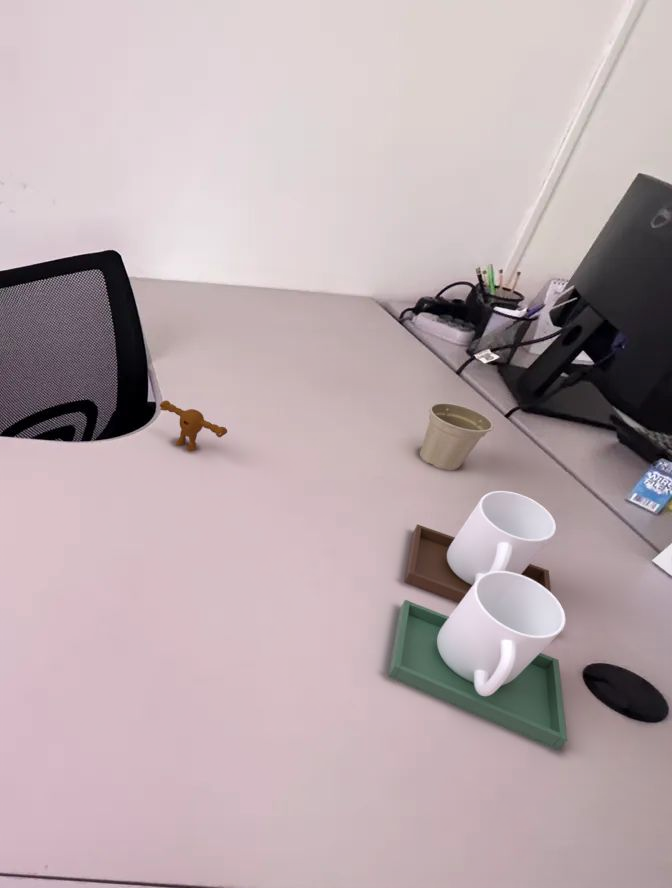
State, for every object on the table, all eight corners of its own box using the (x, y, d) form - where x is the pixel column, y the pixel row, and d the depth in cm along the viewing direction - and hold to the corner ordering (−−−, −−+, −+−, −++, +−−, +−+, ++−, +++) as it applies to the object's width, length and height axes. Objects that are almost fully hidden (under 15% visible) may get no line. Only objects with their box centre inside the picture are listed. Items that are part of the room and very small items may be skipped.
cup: (517, 642, 77) (565, 589, 70) (513, 731, 70) (567, 682, 62) (438, 613, 80) (477, 559, 73) (427, 696, 72) (468, 645, 65)
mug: (506, 624, 83) (550, 573, 76) (433, 594, 86) (470, 542, 79) (517, 559, 90) (559, 507, 83) (450, 534, 93) (484, 481, 86)
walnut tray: (541, 581, 90) (548, 570, 89) (546, 639, 81) (555, 627, 80) (411, 535, 96) (417, 524, 95) (403, 584, 87) (409, 572, 86)
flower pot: (396, 448, 116) (417, 404, 111) (438, 443, 119) (460, 400, 114) (437, 479, 109) (462, 433, 104) (481, 473, 112) (507, 428, 107)
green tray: (549, 671, 77) (558, 659, 76) (556, 752, 68) (567, 740, 67) (398, 611, 83) (405, 599, 82) (387, 677, 74) (394, 666, 73)
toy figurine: (148, 436, 112) (156, 400, 108) (161, 428, 114) (169, 393, 111) (210, 467, 106) (221, 430, 102) (222, 459, 108) (233, 422, 104)
